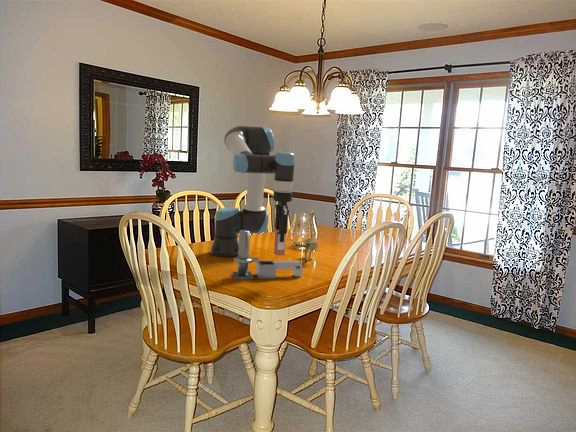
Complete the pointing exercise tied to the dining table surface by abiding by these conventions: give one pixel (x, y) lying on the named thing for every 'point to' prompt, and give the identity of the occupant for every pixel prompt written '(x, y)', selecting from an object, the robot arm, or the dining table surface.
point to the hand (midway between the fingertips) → (279, 247)
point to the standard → (243, 257)
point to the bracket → (269, 268)
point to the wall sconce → (310, 240)
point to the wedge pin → (276, 251)
